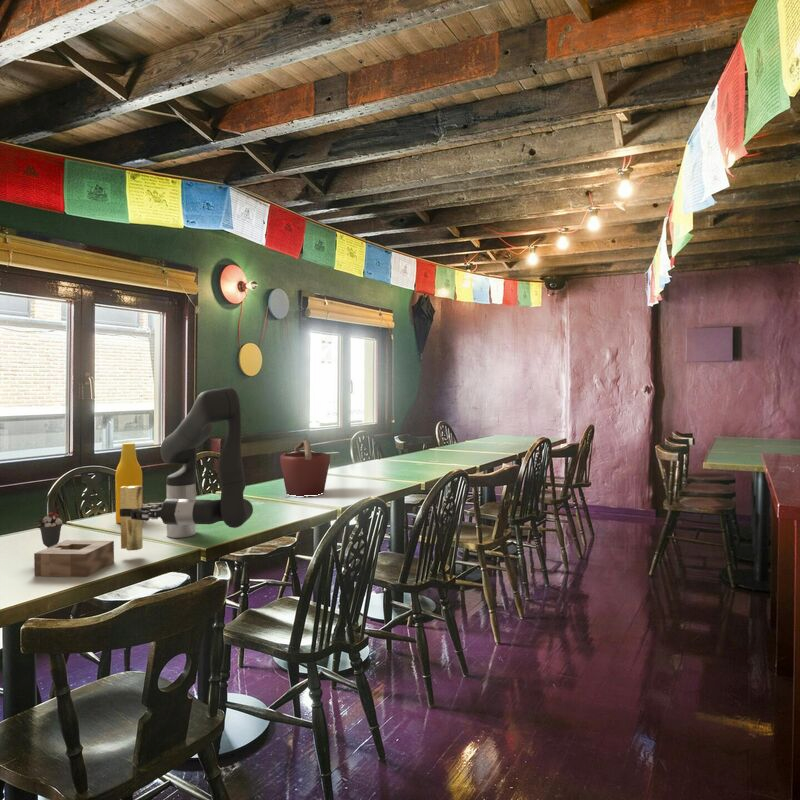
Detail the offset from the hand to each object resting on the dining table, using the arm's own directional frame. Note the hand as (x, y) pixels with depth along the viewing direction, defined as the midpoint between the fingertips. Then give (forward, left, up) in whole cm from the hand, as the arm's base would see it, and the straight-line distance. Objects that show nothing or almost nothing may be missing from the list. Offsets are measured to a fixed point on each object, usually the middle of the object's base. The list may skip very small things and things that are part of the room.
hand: (125, 510), depth 178 cm
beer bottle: (-47, -23, -14) cm, 54 cm away
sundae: (+3, -21, -14) cm, 25 cm away
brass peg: (0, +3, -11) cm, 11 cm away
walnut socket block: (+11, -8, -14) cm, 20 cm away
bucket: (-108, +30, -14) cm, 113 cm away
